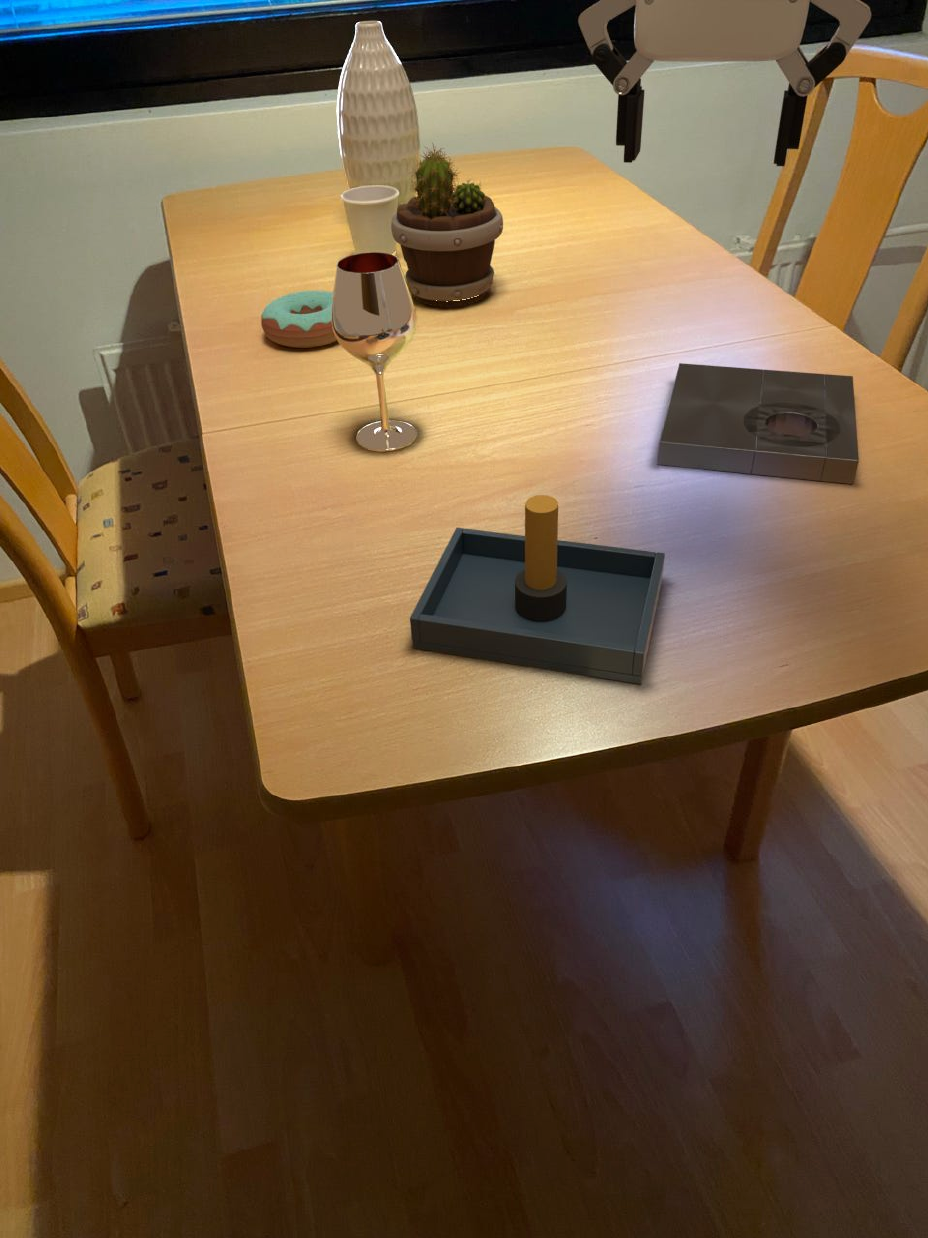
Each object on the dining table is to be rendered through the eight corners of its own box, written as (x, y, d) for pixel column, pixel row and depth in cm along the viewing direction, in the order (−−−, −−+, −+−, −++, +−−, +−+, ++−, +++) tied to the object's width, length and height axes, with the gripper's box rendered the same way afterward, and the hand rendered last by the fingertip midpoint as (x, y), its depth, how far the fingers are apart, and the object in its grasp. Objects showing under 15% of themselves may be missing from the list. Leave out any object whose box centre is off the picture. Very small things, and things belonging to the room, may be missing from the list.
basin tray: (661, 582, 76) (665, 552, 74) (641, 684, 67) (644, 653, 65) (458, 555, 80) (456, 526, 78) (412, 648, 71) (409, 618, 69)
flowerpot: (425, 270, 135) (414, 118, 123) (522, 282, 130) (521, 124, 117) (376, 306, 125) (358, 144, 113) (479, 321, 120) (473, 152, 107)
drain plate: (847, 397, 99) (853, 375, 98) (852, 484, 86) (859, 460, 84) (676, 383, 104) (679, 362, 102) (656, 464, 90) (659, 441, 89)
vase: (370, 208, 161) (351, 15, 143) (437, 214, 157) (425, 16, 139) (334, 230, 152) (308, 28, 134) (404, 237, 148) (387, 29, 130)
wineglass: (440, 439, 96) (428, 263, 85) (372, 464, 93) (350, 284, 81) (399, 411, 101) (383, 241, 90) (333, 434, 98) (308, 261, 87)
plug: (570, 594, 74) (574, 492, 68) (560, 625, 71) (563, 521, 65) (521, 587, 75) (521, 486, 69) (509, 618, 72) (507, 515, 66)
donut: (244, 344, 118) (238, 313, 115) (300, 310, 126) (295, 281, 123) (322, 359, 113) (317, 327, 110) (374, 323, 121) (371, 292, 118)
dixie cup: (341, 272, 136) (332, 200, 130) (359, 253, 143) (351, 184, 136) (395, 274, 135) (389, 202, 128) (411, 255, 141) (406, 185, 135)
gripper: (906, -189, 52) (840, 147, 63) (596, -170, 56) (585, 143, 67) (917, -192, 46) (843, 178, 57) (573, -170, 50) (565, 170, 61)
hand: (704, 159), depth 62 cm, fingers open, 9 cm apart
